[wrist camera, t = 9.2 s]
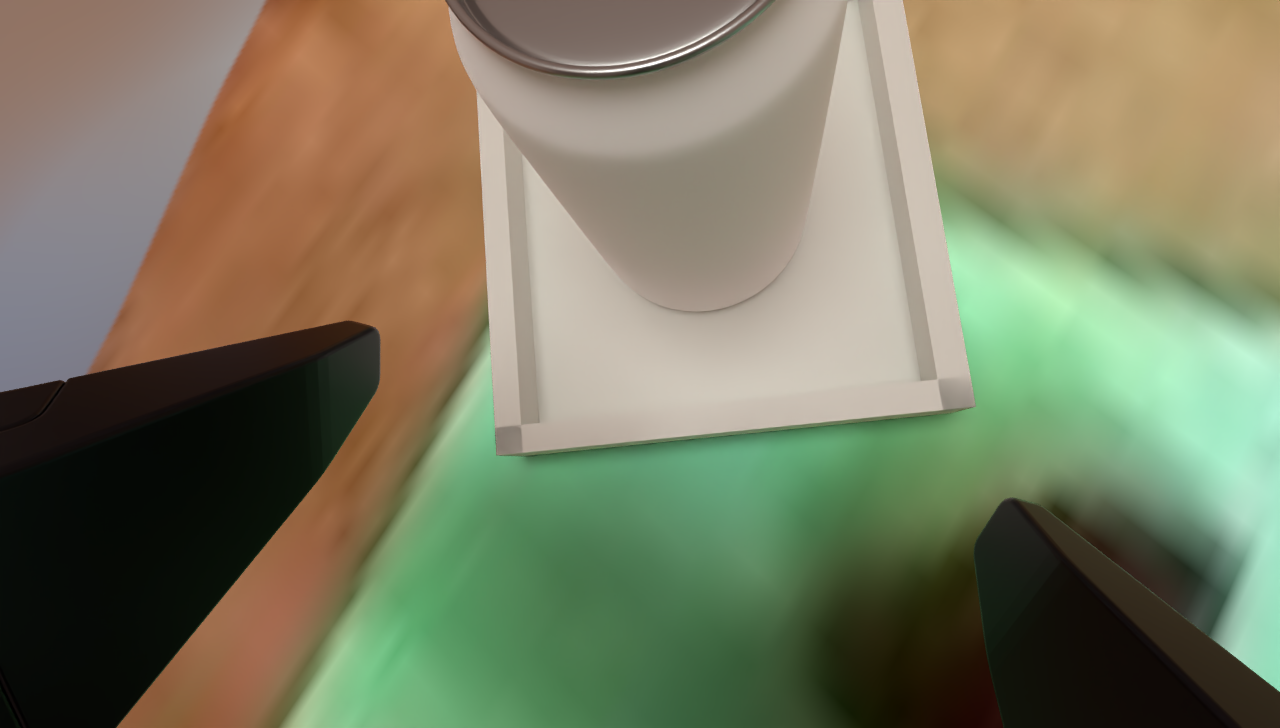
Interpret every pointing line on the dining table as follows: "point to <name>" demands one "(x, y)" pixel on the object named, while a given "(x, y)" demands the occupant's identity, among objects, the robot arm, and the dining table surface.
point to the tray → (755, 328)
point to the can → (666, 127)
